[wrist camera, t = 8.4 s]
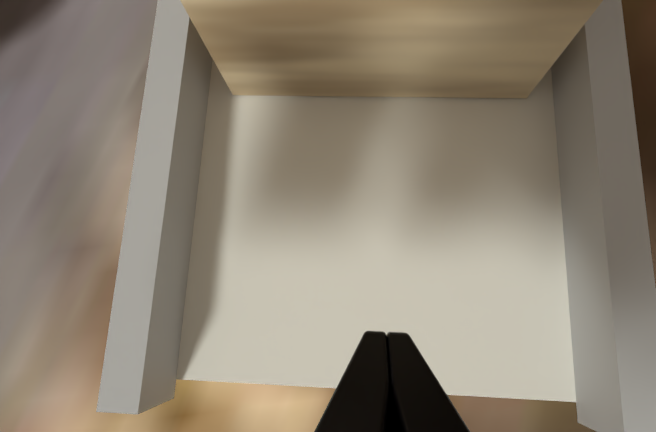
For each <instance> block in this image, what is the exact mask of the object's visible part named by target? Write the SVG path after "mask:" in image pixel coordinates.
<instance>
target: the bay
mask: <svg viewBox="0 0 656 432" xmlns="http://www.w3.org/2000/svg"><path fill="white" fill-rule="evenodd" d="M366 331H383V332H385V333H386V335H387V333H388V332H405V333H407V334H409V335H410V337H411V338H412V340H413V342H414V343H415V345H416V346H417V348H418V350H419V351H420V353H421V354H422V356H423V358H424V359H425V361H426V362H427V364H428V366H429V367H430V369H431V370H432V372H433V374H434V375H435V377H436V378H437V380H438V381H439V383H440V385H441V386H442V388H443V389H444V391H445V393H446V394H447V395H463V396H480V397H498V398H515V399H533V400H550V401H568V402H576V405H577V418H578V423H580V424H582V425H584V426H586V427H588V428H590V429H593V430H595V431H597V432H656V288H655V280H654V272H653V263H652V255H651V246H650V238H649V229H648V221H647V213H646V204H645V196H644V187H643V179H642V171H641V162H640V154H639V145H638V137H637V129H636V120H635V112H634V103H633V95H632V87H631V78H630V70H629V61H628V53H627V45H626V36H625V28H624V19H623V11H622V3H621V0H603V1H602V3H601V4H600V5H599V6H598V8H597V9H596V10H595V11H594V13H593V14H592V15H591V17H590V18H589V19H588V20H587V22H586V23H585V24H584V26H583V27H582V28H581V29H580V31H579V32H578V33H577V34H576V36H575V37H574V38H573V40H572V41H571V42H570V43H569V45H568V46H567V47H566V49H565V50H564V51H563V52H562V54H561V55H560V56H559V58H558V59H557V60H556V61H555V63H554V64H553V65H552V66H551V68H550V69H549V70H548V72H547V73H546V74H545V75H544V77H543V78H542V79H541V81H540V82H539V83H538V84H537V86H536V87H535V88H534V89H533V91H532V92H531V93H530V95H529V96H528V97H527V98H448V97H352V96H256V95H233V94H232V93H231V91H230V89H229V87H228V85H227V84H226V82H225V80H224V78H223V76H222V75H221V73H220V71H219V69H218V67H217V66H216V64H215V62H214V60H213V58H212V57H211V55H210V53H209V51H208V49H207V48H206V46H205V44H204V42H203V40H202V39H201V37H200V35H199V33H198V31H197V30H196V28H195V26H194V24H193V22H192V21H191V19H190V17H189V15H188V13H187V12H186V10H185V8H184V6H183V4H182V3H181V1H180V0H158V3H157V10H156V17H155V24H154V30H153V37H152V44H151V50H150V57H149V64H148V70H147V77H146V84H145V90H144V97H143V104H142V110H141V117H140V124H139V130H138V137H137V144H136V150H135V157H134V164H133V170H132V177H131V184H130V190H129V197H128V204H127V210H126V217H125V224H124V230H123V237H122V244H121V250H120V257H119V264H118V270H117V277H116V284H115V290H114V297H113V304H112V310H111V317H110V324H109V330H108V337H107V344H106V350H105V357H104V364H103V371H102V377H101V384H100V391H99V397H98V404H97V411H96V412H109V413H124V414H140V413H142V412H144V411H146V410H149V409H151V408H153V407H155V406H157V405H160V404H162V403H164V402H166V401H169V400H171V399H173V398H174V393H175V384H176V379H182V380H200V381H217V382H235V383H252V384H270V385H287V386H305V387H322V388H337V386H338V384H339V382H340V380H341V378H342V376H343V374H344V372H345V370H346V368H347V366H348V364H349V362H350V360H351V358H352V356H353V354H354V352H355V350H356V348H357V346H358V344H359V342H360V340H361V338H362V336H363V334H364V333H365V332H366Z"/></svg>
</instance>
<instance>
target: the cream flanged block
mask: <svg viewBox="0 0 656 432" xmlns="http://www.w3.org/2000/svg"><path fill="white" fill-rule="evenodd" d="M180 1H181V3H182V4H183V6H184V8H185V10H186V12H187V13H188V15H189V17H190V19H191V21H192V22H193V24H194V26H195V28H196V30H197V31H198V33H199V35H200V37H201V39H202V40H203V42H204V44H205V46H206V48H207V49H208V51H209V53H210V55H211V57H212V58H213V60H214V62H215V64H216V66H217V67H218V69H219V71H220V73H221V75H222V76H223V78H224V80H225V82H226V84H227V85H228V87H229V89H230V91H231V93H232V94H233V95H256V96H352V97H448V98H527V97H528V96H529V95H530V93H531V92H532V91H533V89H534V88H535V87H536V86H537V84H538V83H539V82H540V81H541V79H542V78H543V77H544V75H545V74H546V73H547V72H548V70H549V69H550V68H551V66H552V65H553V64H554V63H555V61H556V60H557V59H558V58H559V56H560V55H561V54H562V52H563V51H564V50H565V49H566V47H567V46H568V45H569V43H570V42H571V41H572V40H573V38H574V37H575V36H576V34H577V33H578V32H579V31H580V29H581V28H582V27H583V26H584V24H585V23H586V22H587V20H588V19H589V18H590V17H591V15H592V14H593V13H594V11H595V10H596V9H597V8H598V6H599V5H600V4H601V3H602V1H603V0H180Z"/></svg>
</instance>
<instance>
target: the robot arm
mask: <svg viewBox="0 0 656 432" xmlns="http://www.w3.org/2000/svg"><path fill="white" fill-rule="evenodd" d="M314 432H470V431H469V429H468V428H467V426H466V425H465V423H464V421H463V420H462V418H461V417H460V415H459V413H458V412H457V410H456V409H455V407H454V405H453V404H452V402H451V401H450V399H449V397H448V396H447V394H446V393H445V391H444V389H443V388H442V386H441V385H440V383H439V381H438V380H437V378H436V377H435V375H434V374H433V372H432V370H431V369H430V367H429V366H428V364H427V362H426V361H425V359H424V358H423V356H422V354H421V353H420V351H419V350H418V348H417V346H416V345H415V343H414V342H413V340H412V338H411V337H410V335H409V334H407V333H405V332H388V333H387V335H386V333H385V332H383V331H366V332H365V333H364V334H363V336H362V338H361V340H360V342H359V344H358V346H357V348H356V350H355V352H354V354H353V356H352V358H351V360H350V362H349V364H348V366H347V368H346V370H345V372H344V374H343V376H342V378H341V380H340V382H339V384H338V386H337V388H336V390H335V392H334V394H333V396H332V398H331V400H330V402H329V404H328V406H327V408H326V410H325V412H324V414H323V416H322V418H321V420H320V422H319V424H318V426H317V428H316V429H315V431H314Z"/></svg>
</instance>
